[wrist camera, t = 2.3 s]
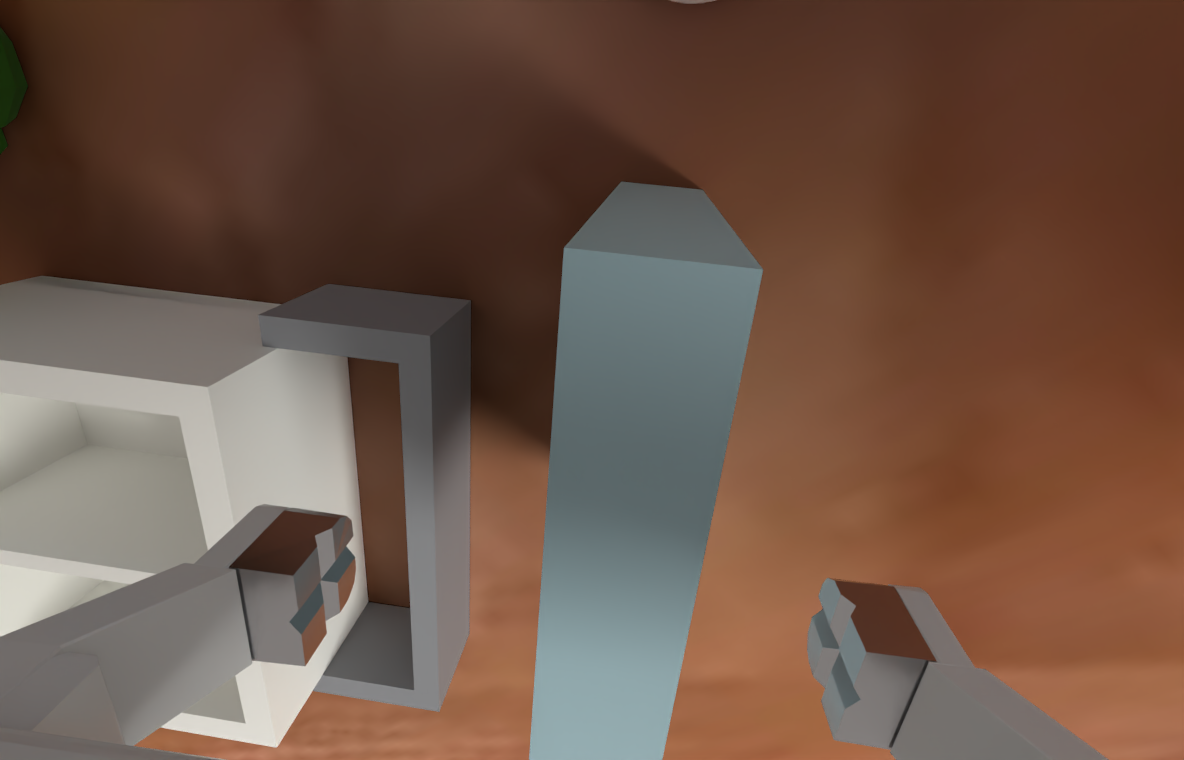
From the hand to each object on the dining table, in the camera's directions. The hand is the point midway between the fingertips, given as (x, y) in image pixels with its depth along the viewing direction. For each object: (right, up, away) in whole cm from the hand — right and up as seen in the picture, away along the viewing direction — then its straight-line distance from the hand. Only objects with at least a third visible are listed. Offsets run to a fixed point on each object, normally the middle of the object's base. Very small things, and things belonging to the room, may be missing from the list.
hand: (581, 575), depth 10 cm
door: (+2, +5, +11) cm, 12 cm away
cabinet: (-13, 0, +14) cm, 20 cm away
